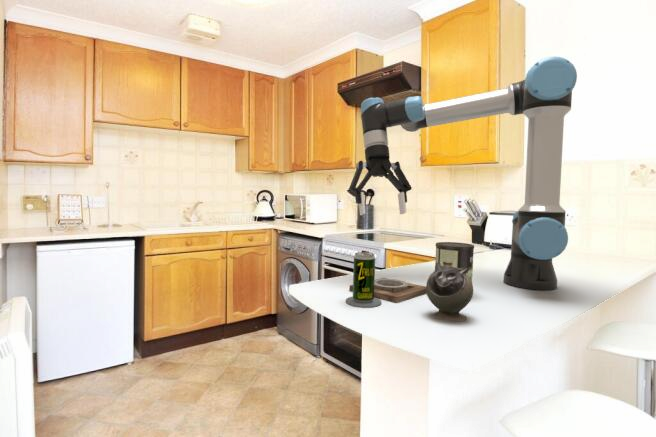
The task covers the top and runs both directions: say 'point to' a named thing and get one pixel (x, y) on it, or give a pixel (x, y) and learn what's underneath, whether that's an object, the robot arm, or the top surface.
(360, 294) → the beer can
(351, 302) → the coaster
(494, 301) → the top surface
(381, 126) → the robot arm
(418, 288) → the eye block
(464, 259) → the coffee can
